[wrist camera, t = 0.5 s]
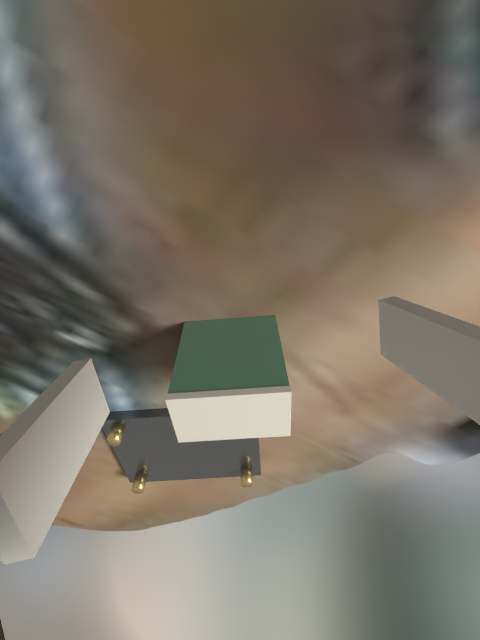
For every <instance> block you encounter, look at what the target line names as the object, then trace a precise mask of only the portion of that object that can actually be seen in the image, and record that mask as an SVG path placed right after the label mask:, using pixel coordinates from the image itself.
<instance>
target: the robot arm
mask: <svg viewBox="0 0 480 640" xmlns="http://www.w3.org/2000/svg"><path fill="white" fill-rule="evenodd" d="M379 323H380V346H381V355H383V356H384V357H385V358H387V359H388V360H390V361H391V362H392V363H394V364H395V365H397V366H398V367H399V368H401V369H402V370H404V371H405V372H407V373H408V374H409V375H411V376H412V377H414V378H415V379H416V380H418V381H419V382H421V383H422V384H423V385H425V386H426V387H428V388H429V389H430V390H432V391H433V392H435V393H436V394H437V395H439V396H440V397H442V398H443V399H444V400H446V401H447V402H449V403H450V404H451V405H453V406H454V407H456V408H457V409H458V410H460V411H461V412H463V413H464V414H465V415H467V416H468V417H470V418H471V419H472V420H474V421H475V422H477V423H478V424H479V425H480V327H479V326H476V325H473V324H470V323H467V322H465V321H462V320H459V319H456V318H453V317H451V316H448V315H445V314H442V313H439V312H437V311H434V310H431V309H428V308H425V307H423V306H420V305H417V304H414V303H411V302H409V301H406V300H403V299H400V298H397V297H395V296H394V297H389V298H384V299H379ZM109 413H110V411H109V408H108V405H107V403H106V400H105V397H104V394H103V391H102V388H101V385H100V383H99V380H98V377H97V374H96V371H95V368H94V366H93V363H92V360H91V358H90V359H85V360H80V361H75V362H73V363H72V364H71V365H70V366H69V367H68V368H67V369H66V370H65V371H64V372H63V373H62V374H61V375H60V376H59V377H58V378H57V379H56V380H55V381H54V382H53V383H52V384H51V385H50V386H49V387H48V388H47V389H46V390H45V391H44V392H43V393H42V394H41V395H40V396H39V397H38V398H37V399H36V400H35V401H34V402H33V403H32V404H31V405H30V406H29V407H28V408H27V409H26V410H25V411H24V412H23V413H22V414H21V415H20V416H19V417H18V418H17V419H16V420H15V421H14V422H13V423H12V424H11V425H10V426H9V427H8V428H7V429H6V430H5V431H4V432H3V433H2V434H0V559H1V561H2V563H3V564H4V565H6V564H10V563H15V562H19V561H23V560H27V559H32V558H34V557H35V555H36V553H37V551H38V549H39V548H40V546H41V544H42V542H43V540H44V538H45V536H46V534H47V532H48V530H49V528H50V526H51V524H52V523H53V521H54V519H55V517H56V515H57V513H58V511H59V509H60V507H61V505H62V503H63V501H64V499H65V497H66V496H67V494H68V492H69V490H70V488H71V486H72V484H73V482H74V480H75V478H76V476H77V474H78V472H79V471H80V469H81V467H82V465H83V463H84V461H85V459H86V457H87V455H88V453H89V451H90V449H91V447H92V446H93V444H94V442H95V440H96V438H97V436H98V434H99V432H100V430H101V428H102V426H103V424H104V422H105V421H106V419H107V417H108V415H109ZM0 640H5V638H4V633H3V629H2V625H1V620H0Z"/></svg>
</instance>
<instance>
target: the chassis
mask: <svg viewBox="0 0 480 640" xmlns="http://www.w3.org/2000/svg"><path fill="white" fill-rule="evenodd" d="M102 429H103V431H104V433H105V435H106V437H107V439H106V443H107V444H108V445H110V446H112V448H113V450H114V452H115V454H116V456H117V458H118V460H119V462H120V464H121V466H122V468H123V470H124V471H125V473H126V475H127V477H128V479H129V481H130V483H132V482H134V483H133V487H132V492H134V493H138V494H139V493H143V491H144V487H145V483H146V482H150V481H167V480H185V479H202V478H220V477H237V476H241V486H242V487H251V486H252V485H253V480H252V476H255V475H261V469H260V455H259V441H258V438H246V439H229V440H213V441H196V442H180V443H178V439H177V436H176V433H175V430H174V427H173V423H172V420H171V417H170V414H169V411H168V408H167V409H151V410H136V411H120V412H110V413H109V415H108V417H107V419H106V421H105V422H104V424H103V426H102Z"/></svg>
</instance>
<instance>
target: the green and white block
mask: <svg viewBox="0 0 480 640" xmlns="http://www.w3.org/2000/svg"><path fill="white" fill-rule="evenodd" d="M165 401H166V404H167V407H168V411H169V414H170V417H171V420H172V423H173V427H174V430H175V433H176V436H177V439H178V443H180V442H196V441H213V440H229V439H246V438H262V437H278V436H290V428H291V387H290V386H289V382H288V377H287V372H286V367H285V362H284V357H283V352H282V347H281V342H280V337H279V332H278V327H277V322H276V317H275V315H271V316H258V317H244V318H230V319H216V320H202V321H188V322H184V326H183V330H182V335H181V339H180V343H179V348H178V352H177V356H176V360H175V365H174V369H173V373H172V377H171V382H170V386H169V390H168V394H167V395H166V399H165Z"/></svg>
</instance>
